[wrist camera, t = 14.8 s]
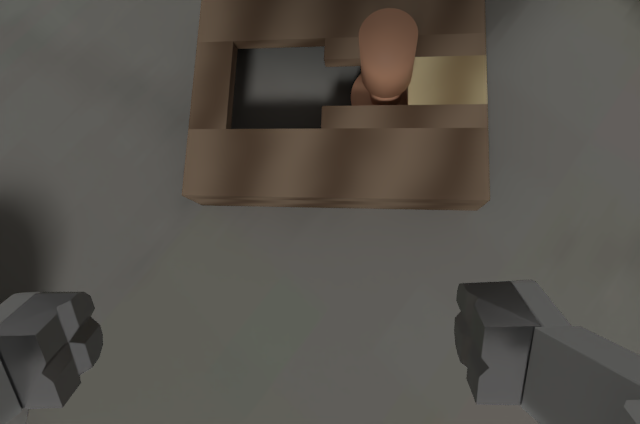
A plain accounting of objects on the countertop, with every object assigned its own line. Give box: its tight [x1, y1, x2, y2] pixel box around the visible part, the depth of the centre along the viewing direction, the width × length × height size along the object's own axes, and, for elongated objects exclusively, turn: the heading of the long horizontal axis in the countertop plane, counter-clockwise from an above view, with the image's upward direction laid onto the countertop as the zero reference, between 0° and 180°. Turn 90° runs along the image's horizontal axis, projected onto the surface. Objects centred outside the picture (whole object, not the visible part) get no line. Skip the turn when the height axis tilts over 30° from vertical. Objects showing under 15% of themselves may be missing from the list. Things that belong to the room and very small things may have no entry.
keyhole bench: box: [182, 0, 490, 210], centre depth 31 cm, size 20×16×4 cm
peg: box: [351, 8, 418, 106], centre depth 28 cm, size 5×5×9 cm
